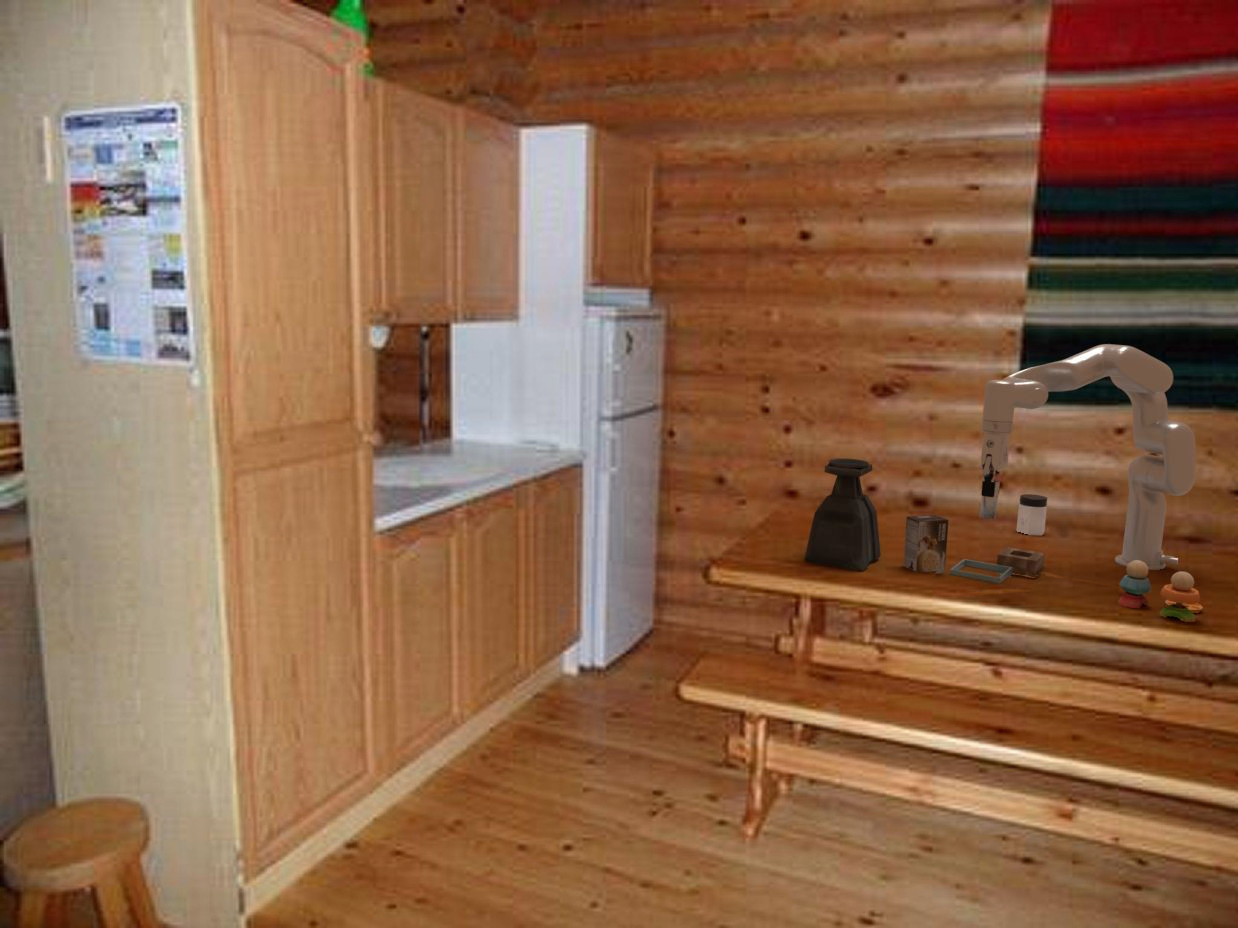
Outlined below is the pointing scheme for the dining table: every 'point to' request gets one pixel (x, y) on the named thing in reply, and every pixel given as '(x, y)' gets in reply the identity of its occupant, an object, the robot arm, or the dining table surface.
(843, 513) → the bottle
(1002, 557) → the block
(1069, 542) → the dining table surface
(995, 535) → the dining table surface
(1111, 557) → the dining table surface
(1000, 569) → the tray
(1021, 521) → the jar
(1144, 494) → the robot arm
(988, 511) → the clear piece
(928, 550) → the coffee box
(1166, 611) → the wooden stacking toy
